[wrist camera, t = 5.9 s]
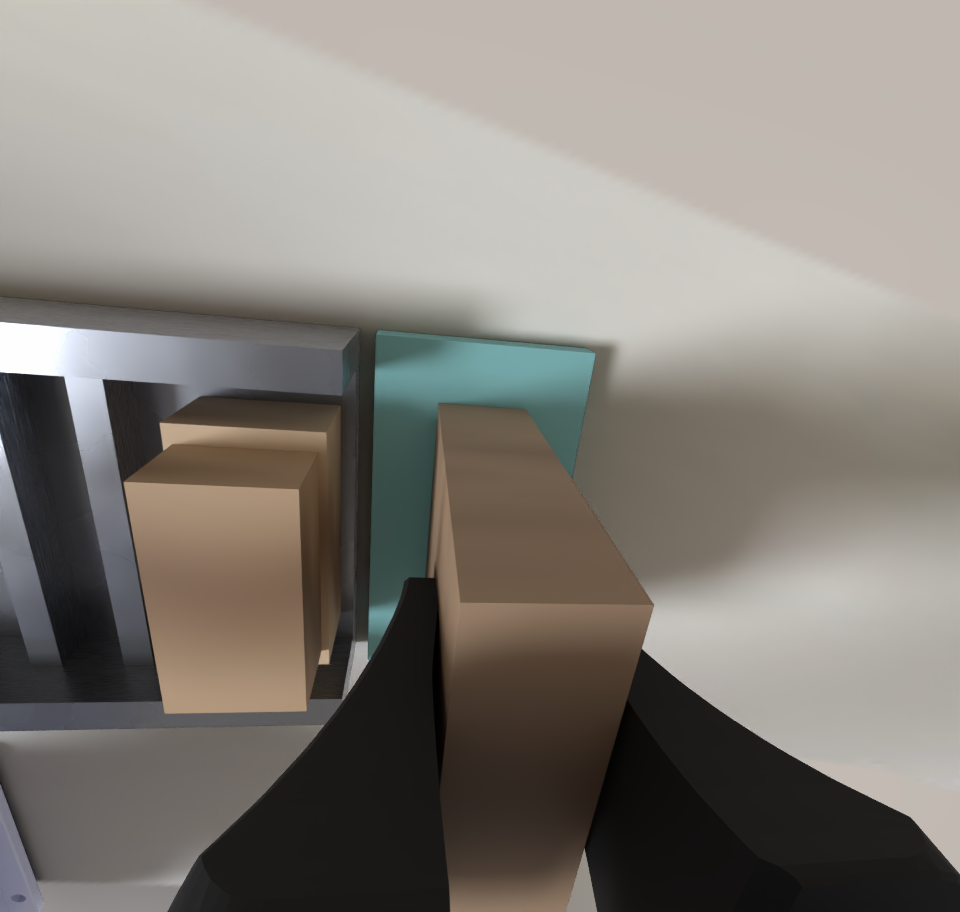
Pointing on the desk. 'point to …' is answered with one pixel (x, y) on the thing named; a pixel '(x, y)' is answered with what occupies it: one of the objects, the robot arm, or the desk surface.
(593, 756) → the walnut panel
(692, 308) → the desk surface
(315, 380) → the rack
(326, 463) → the offcut lower
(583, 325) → the desk surface
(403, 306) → the desk surface
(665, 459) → the desk surface
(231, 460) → the offcut upper
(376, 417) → the teal mat
